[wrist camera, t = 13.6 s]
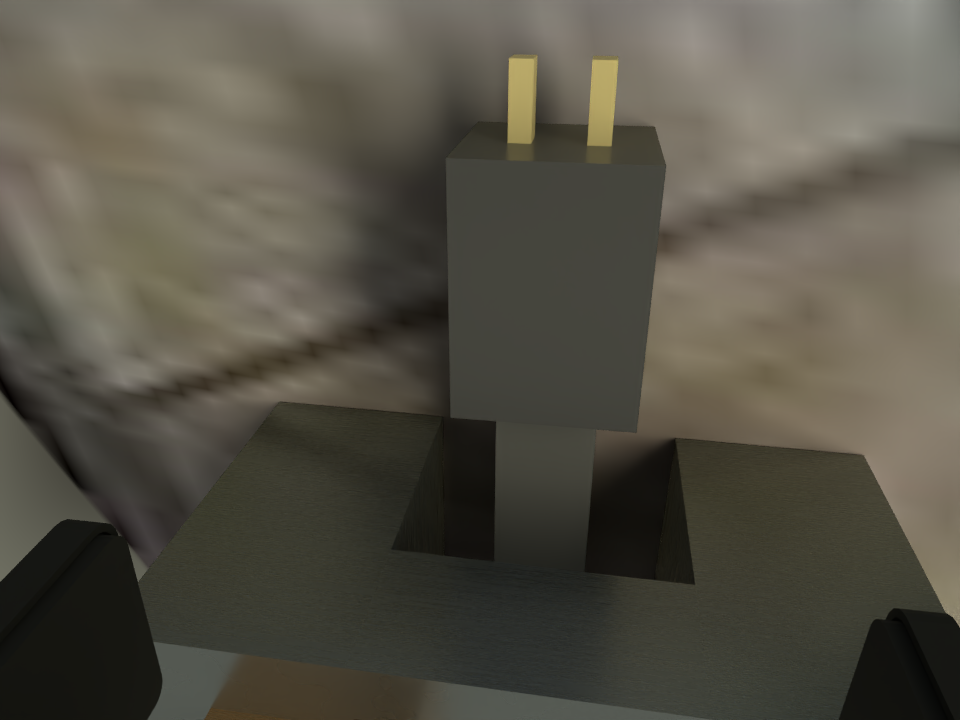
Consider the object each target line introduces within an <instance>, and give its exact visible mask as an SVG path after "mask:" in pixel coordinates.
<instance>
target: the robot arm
mask: <svg viewBox="0 0 960 720" xmlns="http://www.w3.org/2000/svg"><path fill="white" fill-rule="evenodd" d="M162 682H163V679H162V673H161V669H160V665H159V661H158V658H157V654H156V650H155V646H154V642H153V639H152V635H151V631H150V627H149V623H148V619H147V616H146V612H145V608H144V604H143V600H142V597H141V593H140V589H139V585H138V581H137V578H136V574H135V570H134V567H133V562H132V559H131V555H130V551H129V547H128V544H127V541H126V539H124V538H123V537H121V536H118V533H117V531H116V529H115V528H114V527H113V526H112V525H111V524H107V523H98V522H88V521H80V520H70V519H67V520H64V521H61V522H60V523H59V524H57V525H56V526H55V527H54V528H53V529H52V530H51V531H50V532H49V533H48V534H47V535H46V536H45V537H44V538H43V539H42V540H41V541H40V542H39V543H38V544H37V545H36V546H35V547H34V548H33V549H32V550H31V551H30V552H29V553H28V554H27V555H26V556H25V557H24V558H23V559H22V560H21V561H20V562H19V564H17V565H16V567H15V568H14V569H13V570H12V571H11V572H10V573H9V574H8V575H7V576H6V577H5V578H4V579H3V580H2V581H1V582H0V720H148V718H149V716H150V715H151V713H152V711H153V710H154V708H155V706H156V704H157V702H158V700H159V697H160V694H161V690H162ZM839 720H960V628H959V626H958V624H957V623H956V621H955V620H954V618H953V617H951V616H950V615H948V614H946V613H937V612H927V611H918V610H909V609H899V608H893V609H892V610H891V611H890V612H889V613H888V615H887V617H886V619H885V620H882V619H875V620H874V621H873V622H872V624H871V626H870V628H869V631H868V634H867V637H866V640H865V643H864V646H863V649H862V652H861V655H860V658H859V661H858V664H857V667H856V669H855V672H854V675H853V678H852V681H851V684H850V687H849V690H848V693H847V696H846V699H845V702H844V705H843V708H842V711H841V714H840V717H839Z"/></svg>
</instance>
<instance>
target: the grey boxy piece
mask: <svg viewBox="0 0 960 720" xmlns="http://www.w3.org/2000/svg"><path fill="white" fill-rule="evenodd" d="M138 585H139V589H140V593H141V597H142V600H143V604H144V608H145V612H146V616H147V619H148V623H149V627H150V631H151V635H152V639H153V642H154V646H155V650H156V654H157V658H158V661H159V665H160V669H161V673H162V679H163V682H162V690H161V694H160V697H159V700H158V702H157V704H156V706H155V708H154V710H153V711H152V713H151V715H150V716H149V718H148V720H839V717H840V714H841V711H842V708H843V705H844V702H845V699H846V696H847V693H848V690H849V687H850V684H851V681H852V678H853V675H854V672H855V669H856V667H857V664H858V661H859V658H860V655H861V652H862V649H863V646H864V643H865V640H866V637H867V634H868V631H869V628H870V626H871V624H872V622H873V621H874V620H875V619H882V620H885V619H886V617H887V615H888V613H889V612H890V611H891V610H892V609H893V608H899V609H909V610H918V611H927V612H937V613H945V611H944V609H943V607H942V605H941V603H940V601H939V599H938V597H937V595H936V593H935V591H934V590H933V588H932V586H931V584H930V582H929V580H928V578H927V576H926V574H925V572H924V570H923V568H922V566H921V565H920V563H919V561H918V559H917V557H916V555H915V553H914V551H913V549H912V547H911V545H910V543H909V542H908V540H907V538H906V536H905V534H904V532H903V530H902V528H901V526H900V524H899V522H898V520H897V518H896V517H895V515H894V513H893V511H892V509H891V507H890V505H889V503H888V501H887V499H886V497H885V495H884V494H883V492H882V490H881V488H880V486H879V484H878V482H877V480H876V478H875V476H874V474H873V472H872V470H871V469H870V467H869V465H868V463H867V461H866V459H865V457H864V456H863V455H852V454H842V453H831V452H820V451H809V450H798V449H787V448H776V447H765V446H754V445H744V444H733V443H722V442H711V441H700V440H689V439H678V438H676V440H675V446H674V453H673V460H672V466H671V473H670V480H669V486H668V493H667V499H666V506H665V513H664V519H663V526H662V533H661V539H660V546H659V553H658V559H657V566H656V572H655V579H654V580H648V579H640V578H631V577H623V576H614V575H606V574H597V573H588V572H580V571H571V570H563V569H554V568H546V567H537V566H528V565H520V564H511V563H503V562H494V561H486V560H477V559H468V558H460V557H451V556H444V485H443V417H439V416H428V415H417V414H406V413H395V412H384V411H373V410H362V409H352V408H341V407H330V406H319V405H308V404H297V403H286V402H279V403H278V405H277V406H276V407H275V409H274V410H273V411H272V412H271V414H270V415H269V416H268V417H267V419H266V420H265V421H264V423H263V424H262V425H261V426H260V428H259V429H258V430H257V431H256V433H255V434H254V435H253V437H252V438H251V439H250V440H249V442H248V443H247V444H246V445H245V447H244V448H243V449H242V451H241V452H240V453H239V454H238V456H237V457H236V458H235V459H234V461H233V462H232V463H231V465H230V466H229V467H228V468H227V470H226V471H225V472H224V473H223V475H222V476H221V477H220V479H219V480H218V481H217V482H216V484H215V485H214V486H213V487H212V489H211V490H210V491H209V493H208V494H207V495H206V496H205V498H204V499H203V500H202V501H201V503H200V504H199V505H198V507H197V508H196V509H195V510H194V512H193V513H192V514H191V515H190V517H189V518H188V519H187V521H186V522H185V523H184V524H183V526H182V527H181V528H180V529H179V531H178V532H177V533H176V535H175V536H174V537H173V538H172V540H171V541H170V542H169V543H168V545H167V546H166V547H165V549H164V550H163V551H162V552H161V554H160V555H159V556H158V558H157V559H156V560H155V561H154V563H153V564H152V565H151V566H150V568H149V569H148V570H147V572H146V573H145V574H144V575H143V577H142V578H141V579H140V580H139V582H138Z"/></svg>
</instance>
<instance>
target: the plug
mask: <svg viewBox="0 0 960 720" xmlns="http://www.w3.org/2000/svg"><path fill="white" fill-rule="evenodd" d="M617 71H618V56H593V63H592V79H591V94H590V110H589V125H574V124H540V123H535V112H536V82H537V55H513V56H511V57H510V58H509V87H508V123H505V122H478V123H477V124H476V125H475V126H474V128H473V129H472V130H471V131H470V132H469V133H468V134H467V135H466V136H465V137H464V139H463V140H462V141H461V142H460V143H459V144H458V145H457V146H456V147H455V149H454V150H453V151H452V152H451V153H450V154H449V155H448V156H447V157H446V201H447V255H448V310H449V364H450V418H461V419H474V420H486V421H496V462H495V539H494V562H503V563H511V564H520V565H528V566H537V567H546V568H554V569H563V570H571V571H580V572H585V560H586V548H587V536H588V524H589V512H590V500H591V487H592V475H593V463H594V451H595V439H596V430H609V431H621V432H633V433H637V424H638V415H639V406H640V397H641V388H642V379H643V370H644V361H645V352H646V343H647V334H648V325H649V316H650V307H651V298H652V289H653V280H654V271H655V262H656V253H657V244H658V235H659V226H660V217H661V208H662V199H663V190H664V181H665V172H666V164H665V160H664V157H663V153H662V150H661V146H660V143H659V140H658V136H657V133H656V129H655V127H644V126H613V122H614V109H615V96H616V84H617Z"/></svg>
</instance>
